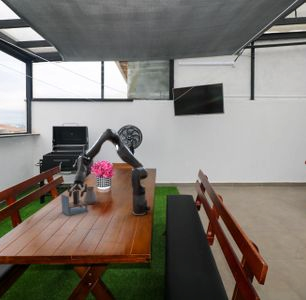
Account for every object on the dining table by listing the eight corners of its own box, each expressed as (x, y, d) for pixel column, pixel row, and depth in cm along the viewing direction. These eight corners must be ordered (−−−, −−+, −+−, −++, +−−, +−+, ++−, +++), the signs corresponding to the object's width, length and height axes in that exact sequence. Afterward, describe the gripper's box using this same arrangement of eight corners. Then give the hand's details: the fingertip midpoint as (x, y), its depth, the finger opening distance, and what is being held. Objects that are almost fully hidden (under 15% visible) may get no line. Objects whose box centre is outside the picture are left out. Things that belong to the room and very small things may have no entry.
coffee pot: (96, 200, 219) (95, 182, 217) (99, 203, 208) (98, 185, 207) (70, 203, 211) (69, 185, 209) (72, 207, 200) (71, 188, 199)
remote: (75, 202, 193) (75, 190, 192) (79, 202, 193) (79, 190, 192) (73, 204, 189) (72, 192, 188) (77, 204, 188) (76, 192, 188)
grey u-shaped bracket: (81, 207, 199) (80, 190, 198) (87, 211, 191) (86, 192, 190) (62, 212, 190) (61, 193, 188) (68, 215, 181) (67, 196, 180)
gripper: (90, 180, 201) (86, 199, 191) (72, 180, 203) (67, 199, 192) (87, 175, 196) (83, 194, 185) (69, 175, 197) (64, 194, 187)
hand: (75, 196), depth 189 cm, fingers open, 8 cm apart
